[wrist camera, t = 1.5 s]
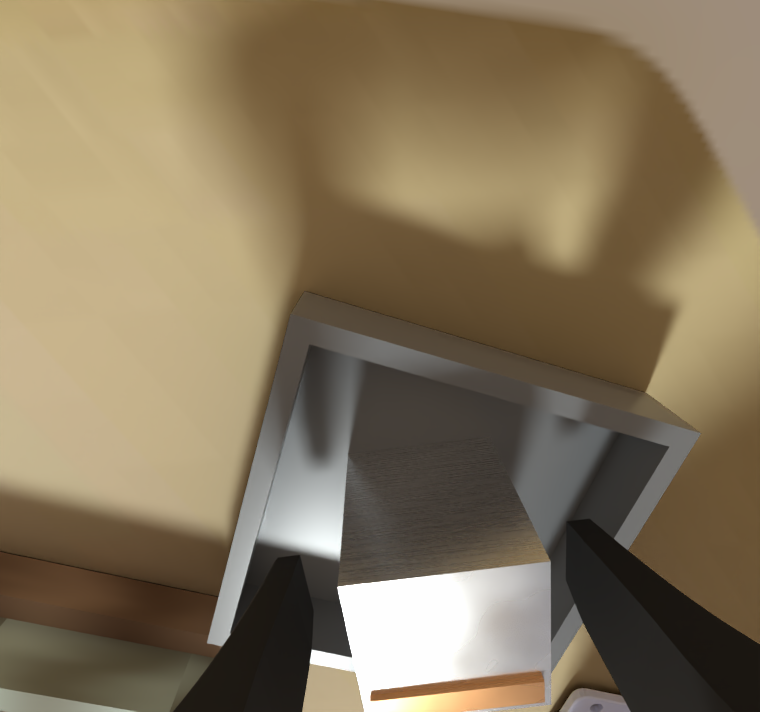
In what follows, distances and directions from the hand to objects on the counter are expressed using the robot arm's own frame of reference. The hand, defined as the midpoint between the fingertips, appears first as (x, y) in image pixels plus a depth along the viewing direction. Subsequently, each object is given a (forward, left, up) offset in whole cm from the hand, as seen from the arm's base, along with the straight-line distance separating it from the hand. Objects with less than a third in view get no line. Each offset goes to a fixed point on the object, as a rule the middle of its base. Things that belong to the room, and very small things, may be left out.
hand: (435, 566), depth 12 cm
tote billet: (0, 0, -3) cm, 3 cm away
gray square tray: (0, 0, -3) cm, 3 cm away
